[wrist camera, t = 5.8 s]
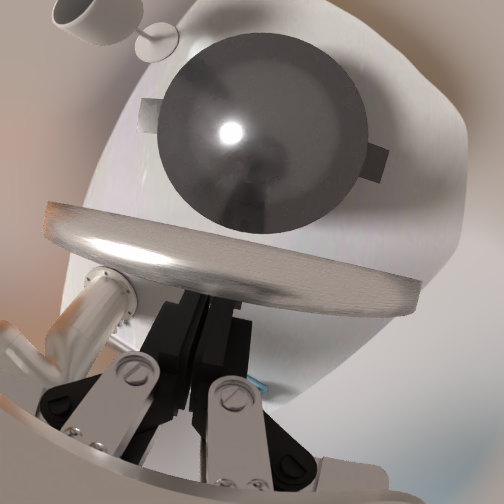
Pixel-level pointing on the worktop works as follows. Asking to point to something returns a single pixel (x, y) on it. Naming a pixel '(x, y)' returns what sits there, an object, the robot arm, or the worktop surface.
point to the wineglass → (115, 26)
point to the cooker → (262, 133)
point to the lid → (228, 265)
